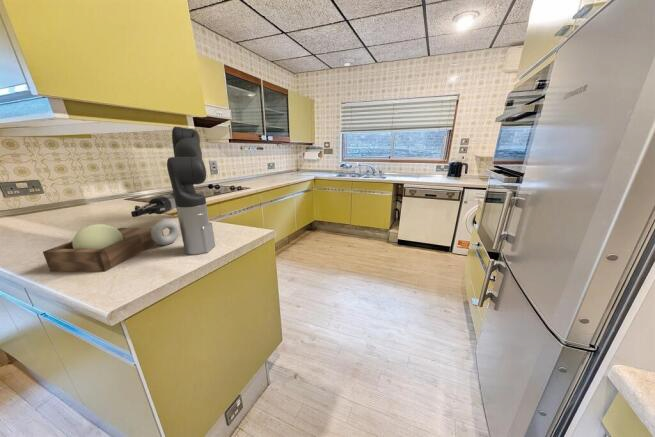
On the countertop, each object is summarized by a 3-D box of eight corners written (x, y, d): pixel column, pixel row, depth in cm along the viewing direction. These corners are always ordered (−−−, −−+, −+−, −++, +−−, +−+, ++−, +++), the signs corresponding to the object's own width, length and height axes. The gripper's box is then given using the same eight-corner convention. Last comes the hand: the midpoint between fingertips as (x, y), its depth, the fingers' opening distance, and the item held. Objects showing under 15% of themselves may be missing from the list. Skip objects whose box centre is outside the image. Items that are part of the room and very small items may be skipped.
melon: (94, 231, 68) (105, 267, 72) (127, 219, 80) (136, 250, 83) (54, 231, 68) (67, 267, 72) (93, 219, 80) (103, 250, 83)
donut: (157, 249, 84) (151, 224, 81) (151, 248, 86) (145, 222, 83) (183, 240, 93) (179, 217, 90) (178, 239, 94) (173, 216, 91)
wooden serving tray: (164, 239, 94) (161, 224, 92) (105, 271, 69) (99, 251, 67) (123, 239, 94) (119, 224, 92) (50, 271, 69) (42, 251, 67)
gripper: (147, 196, 105) (114, 205, 88) (176, 196, 105) (148, 205, 88) (151, 211, 107) (119, 223, 90) (179, 211, 107) (152, 223, 90)
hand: (133, 214), depth 89 cm, fingers closed
